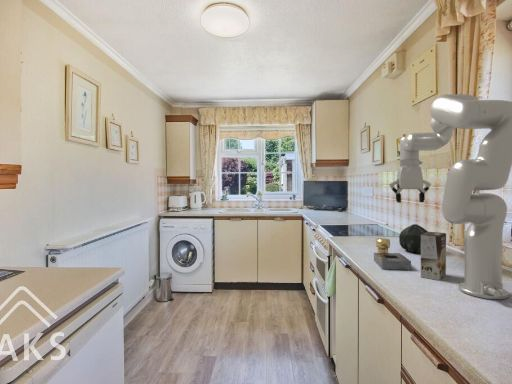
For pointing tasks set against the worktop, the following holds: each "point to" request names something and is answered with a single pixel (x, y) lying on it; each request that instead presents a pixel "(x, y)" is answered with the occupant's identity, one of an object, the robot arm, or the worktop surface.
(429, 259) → the coffee box
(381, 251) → the end cover
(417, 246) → the squash
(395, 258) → the block
